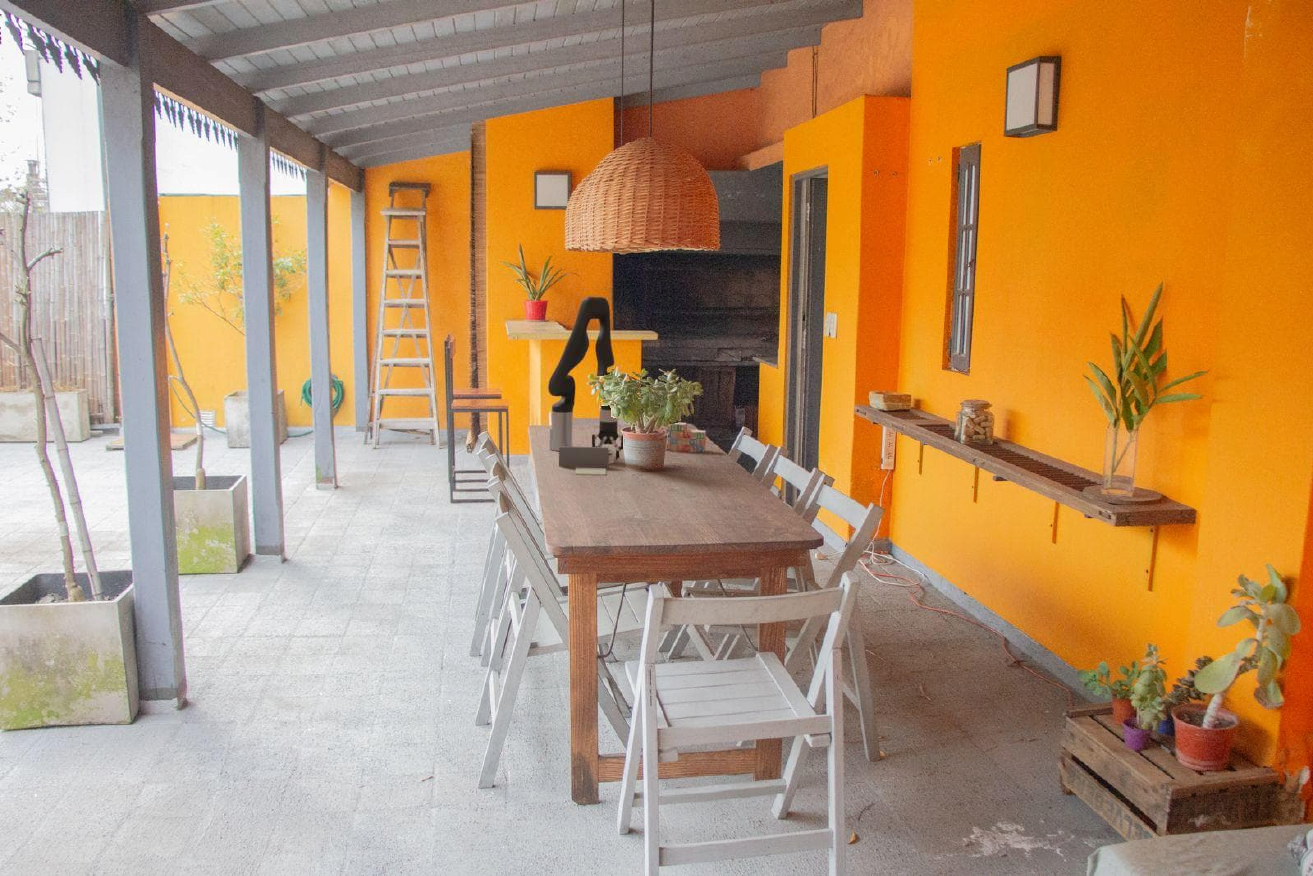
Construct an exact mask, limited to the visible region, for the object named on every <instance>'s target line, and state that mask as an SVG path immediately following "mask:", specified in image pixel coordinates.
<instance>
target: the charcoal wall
mask: <svg viewBox="0 0 1313 876" xmlns="http://www.w3.org/2000/svg"><path fill="white" fill-rule="evenodd" d="M608 450H609V447H608V446H607V447H606V446H603V447H602V446H601V447H592V446H572V447H569V446H559V451H558V467H565V468H566V467H568V468H576V467H577V468H607V467H608V468H609V464H608Z"/></svg>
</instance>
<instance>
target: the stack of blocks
mask: <svg viewBox="0 0 1313 876" xmlns="http://www.w3.org/2000/svg"><path fill="white" fill-rule="evenodd" d="M677 422H678V421H677ZM687 423H688V422H678V423H675V424H673V425H671V426H668V428H667V433H668V444H667V450H666V451H677V452H691V453H704V452H705V451H706V442H707V441H706V440H707V439H706V438H707V430H701V429H700V430H699V429H687V428H688V425H687Z"/></svg>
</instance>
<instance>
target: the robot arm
mask: <svg viewBox="0 0 1313 876" xmlns="http://www.w3.org/2000/svg"><path fill="white" fill-rule="evenodd" d="M610 313H611V312H610V304H609V301H608V300H607V298H606V297H603V296H586V297H585V298H583V300H582V301H581V304H580V306H579V309H578V313H577V316H576V320H575V322H574V325H573V328H572V331H571V333H570V336H569V338H568V340H567V343H566V345H565V347H564V350H563V353H562V354H561V358H559V362H558V364H557V366H556V367H555V368H554V371H553V372H552V375H551V376H550V378H549V381H548V385H547V386H548V387H547V388H548V393H549V394H550V396H553V397H561V398H560V399H559V400H558V401H557V402H555V403H554V404H552V406H551V427H550V428H549V450H552V451H555V452H559V446H569V447H573V430H574V428H573V425H574V421H573V420H574V415H573V414H574V407H575V401H576V381H575V378H574V377H573V375H570V374H569V373H570V372H571V371H572V370H573V369H574V368H575V367H577V366H578V365H579V364H580V363H582V361H583V360H584V358H585V357H586V354H587V352H588V349H589V347H590V339H589V335H588V331H587V328H588V326H589V323H590V321H591V320H598V323H599V332H598V337H597V339H596V341H595V342H596V343H595V345H594V346H595V349H594V350H595V356H596V361H597V367H596V369H597V370H596V371H597V372H596V377H597V376H604V375H608V374H610V373H611V372H612V371H611V372H610V371H609V372H608V368H611V367H613V366H614V365H615V358H614V352H613V347H612V339H611V333H612V332H611V314H610ZM618 421H619V418H618V419H616V418H613V417H611V408H610V406H609V405H608V406H601V405H600V411H599V429H598V431H599V432H598V434H595V433H592V435H591V447H602V446H603V445H613V446H614V448H615V460H616V461H617V460H618V459H619V458H620V451H622V450H624V449H623V435H624V434H618V425H619V424H618ZM597 438H599V440H600V441H599V443H598V445H596V440H597ZM618 438H619V440H620V442H621V443H620V446H618V443H617V439H618Z"/></svg>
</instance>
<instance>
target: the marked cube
mask: <svg viewBox="0 0 1313 876" xmlns="http://www.w3.org/2000/svg"><path fill="white" fill-rule="evenodd" d="M614 456H615V450H614V449H608V463H614V462H615V461H614V460H615V459H614V458H615V457H614Z"/></svg>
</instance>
